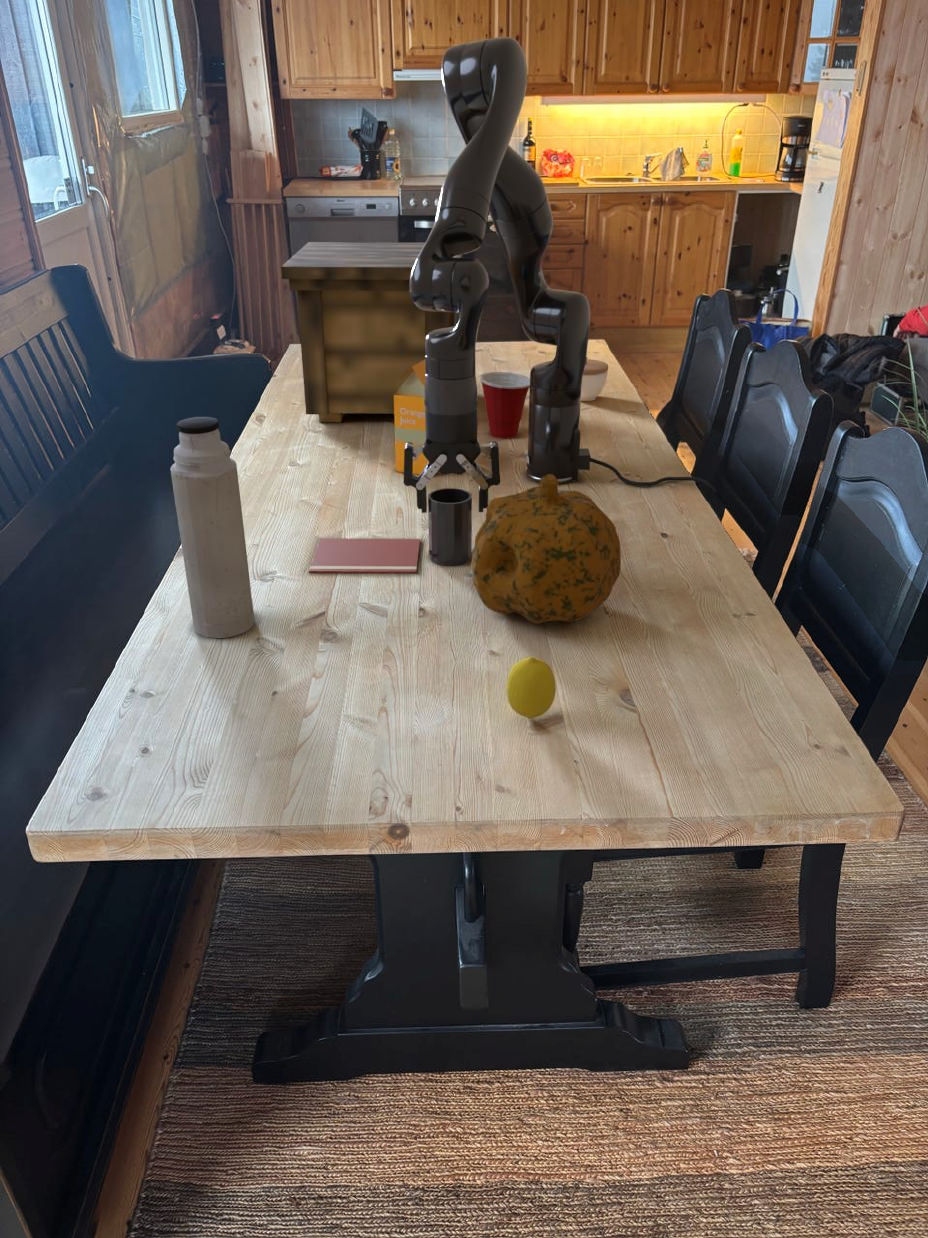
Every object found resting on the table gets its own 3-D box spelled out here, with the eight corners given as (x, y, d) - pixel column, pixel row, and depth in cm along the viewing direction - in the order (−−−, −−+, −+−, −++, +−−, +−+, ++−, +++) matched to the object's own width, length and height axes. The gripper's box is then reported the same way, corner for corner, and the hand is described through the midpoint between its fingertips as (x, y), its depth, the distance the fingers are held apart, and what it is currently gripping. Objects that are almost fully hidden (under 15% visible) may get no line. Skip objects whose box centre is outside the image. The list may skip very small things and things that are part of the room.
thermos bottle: (214, 606, 137) (187, 408, 123) (265, 615, 134) (243, 414, 121) (182, 632, 130) (150, 426, 117) (234, 642, 128) (208, 433, 114)
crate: (318, 384, 239) (308, 242, 224) (461, 385, 239) (462, 242, 223) (294, 428, 208) (281, 266, 193) (459, 429, 208) (459, 267, 192)
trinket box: (550, 397, 230) (552, 356, 225) (580, 388, 236) (583, 349, 232) (585, 406, 223) (587, 365, 218) (615, 398, 229) (618, 357, 225)
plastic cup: (526, 444, 199) (528, 385, 193) (474, 440, 201) (474, 382, 195) (534, 428, 209) (536, 371, 203) (484, 425, 210) (484, 369, 205)
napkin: (420, 540, 157) (420, 538, 156) (416, 573, 146) (416, 571, 146) (319, 540, 157) (319, 538, 156) (308, 572, 146) (308, 570, 146)
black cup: (471, 548, 154) (471, 487, 149) (471, 565, 148) (471, 503, 144) (430, 547, 154) (429, 487, 149) (428, 565, 148) (427, 503, 144)
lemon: (502, 705, 115) (504, 646, 111) (549, 703, 115) (552, 644, 111) (508, 732, 110) (510, 671, 106) (557, 730, 110) (561, 669, 106)
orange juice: (395, 471, 185) (391, 364, 176) (414, 456, 192) (412, 353, 183) (433, 476, 182) (431, 368, 173) (451, 461, 190) (451, 357, 180)
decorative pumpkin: (591, 560, 148) (597, 435, 137) (634, 637, 131) (646, 502, 119) (459, 574, 145) (454, 449, 134) (486, 656, 128) (483, 519, 117)
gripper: (500, 397, 143) (499, 501, 151) (402, 397, 143) (406, 501, 151) (501, 412, 137) (500, 520, 144) (399, 413, 137) (403, 520, 144)
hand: (452, 510), depth 148 cm, fingers open, 8 cm apart
